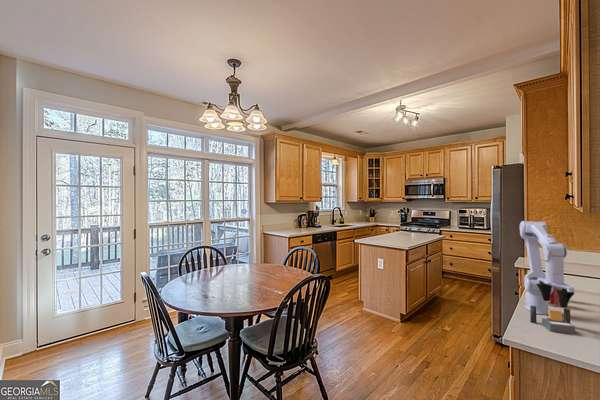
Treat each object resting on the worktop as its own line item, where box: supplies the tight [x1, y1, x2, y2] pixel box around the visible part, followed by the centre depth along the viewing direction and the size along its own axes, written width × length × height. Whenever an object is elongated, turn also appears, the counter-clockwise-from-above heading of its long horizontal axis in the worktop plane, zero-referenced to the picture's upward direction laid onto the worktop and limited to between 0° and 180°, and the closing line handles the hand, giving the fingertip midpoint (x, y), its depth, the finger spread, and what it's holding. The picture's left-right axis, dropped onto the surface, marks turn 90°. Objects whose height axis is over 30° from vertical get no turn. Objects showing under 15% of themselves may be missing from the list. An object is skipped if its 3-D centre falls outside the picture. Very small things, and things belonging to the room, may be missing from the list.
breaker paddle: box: [548, 309, 564, 321], centre depth 115 cm, size 1×4×4 cm, turn 74°
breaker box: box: [541, 316, 576, 335], centre depth 114 cm, size 6×8×4 cm
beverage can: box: [548, 287, 560, 307], centre depth 143 cm, size 6×6×12 cm
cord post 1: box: [529, 305, 537, 324], centre depth 121 cm, size 2×2×7 cm
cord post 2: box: [563, 308, 571, 324], centre depth 117 cm, size 2×2×7 cm
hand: (554, 303), depth 117 cm, fingers open, 7 cm apart
